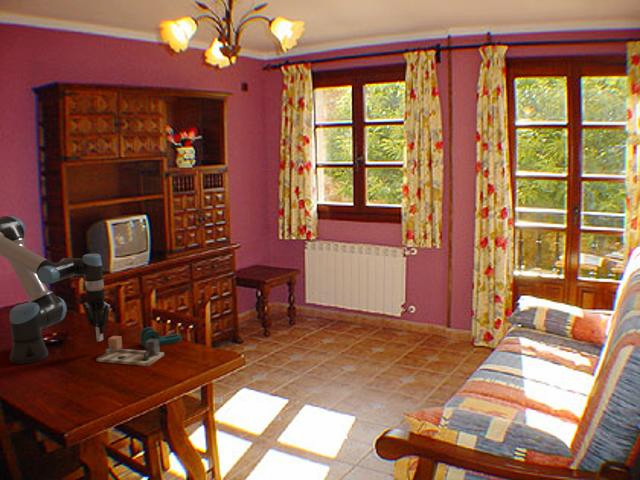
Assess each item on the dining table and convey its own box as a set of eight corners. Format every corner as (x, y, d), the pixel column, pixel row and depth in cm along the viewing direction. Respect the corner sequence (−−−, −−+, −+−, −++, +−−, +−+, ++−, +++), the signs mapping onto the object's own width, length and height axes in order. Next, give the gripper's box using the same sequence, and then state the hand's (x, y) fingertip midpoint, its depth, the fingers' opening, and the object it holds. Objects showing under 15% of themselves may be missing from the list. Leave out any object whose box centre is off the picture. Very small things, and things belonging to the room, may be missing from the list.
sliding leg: (102, 355, 259) (101, 342, 258) (114, 348, 268) (113, 335, 267) (110, 356, 258) (109, 343, 257) (122, 348, 267) (121, 336, 266)
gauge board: (96, 361, 257) (95, 344, 256) (114, 350, 269) (112, 334, 268) (148, 366, 251) (147, 349, 249) (164, 355, 263) (163, 338, 262)
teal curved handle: (145, 349, 271) (143, 332, 270) (141, 344, 277) (140, 328, 276) (183, 341, 281) (182, 325, 279) (179, 337, 286) (178, 321, 285)
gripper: (76, 290, 261) (82, 342, 265) (102, 291, 257) (107, 344, 261) (87, 286, 268) (92, 336, 272) (113, 287, 265) (117, 338, 269)
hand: (100, 340), depth 267 cm, fingers closed
